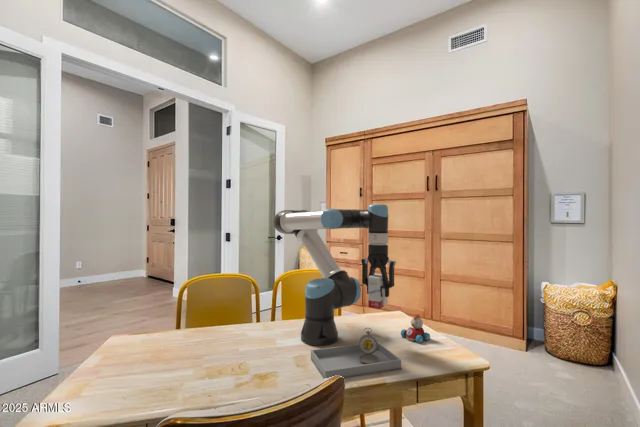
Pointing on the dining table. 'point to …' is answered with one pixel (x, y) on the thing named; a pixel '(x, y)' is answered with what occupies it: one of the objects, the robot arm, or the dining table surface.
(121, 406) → the dining table surface
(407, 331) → the toy car
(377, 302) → the ink box
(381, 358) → the tray
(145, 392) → the dining table surface
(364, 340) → the pocket watch
